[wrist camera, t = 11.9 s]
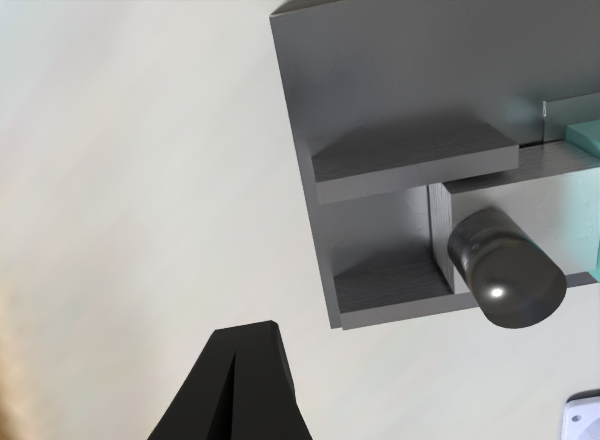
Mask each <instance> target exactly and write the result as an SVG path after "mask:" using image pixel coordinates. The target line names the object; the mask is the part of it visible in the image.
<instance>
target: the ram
mask: <svg viewBox="0 0 600 440" xmlns="http://www.w3.org/2000/svg"><path fill="white" fill-rule="evenodd" d="M429 193H430V209H431V225H432V241H433V256H434V258H435V260H436V262H437V264H438V265H439V267H440V269H441V271H442V272H443V274H444V276H445V278H446V280H447V281H448V283H449V285H450V287H451V288H452V290H453V292H454V294H460V293H466V292H471V294H472V295H473V297H474V298H475V300H476V302H477V303H478V305H479V307H480V308H481V310H482V311H483V313H484V315H485V316H486V317H487V319H488V320H489V321H491V322H492V323H493V324H495V325H497V326H500V327H503V328H510V329H518V328H524V327H528V326H532V325H534V324H537V323H539V322H541V321H543V320H544V319H546V318H547V317H549V316H550V315H551V314H552V313H553V312H554V311H555V310H556V309H557V308H558V307H559V306H560V304H561V303H562V301H563V299H564V297H565V294H566V290H567V281H566V277H565V275H569V274H575V273H580V272H586V271H592V270H596V264H597V256H598V248H599V240H600V160H598V159H597V158H595V157H593V156H591V155H590V154H588V153H586V152H584V151H582V150H581V149H579V148H577V147H575V146H574V145H572V144H570V143H568V142H566V141H565V140H563V141H558V142H552V143H547V144H542V145H536V146H531V147H526V148H520V149H519V161H518V168H516V169H511V170H505V171H500V172H494V173H489V174H484V175H478V176H473V177H468V178H462V179H457V180H451V181H446V182H441V183H435V184H430V185H429Z"/></svg>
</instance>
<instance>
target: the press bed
mask: <svg viewBox="0 0 600 440" xmlns="http://www.w3.org/2000/svg"><path fill="white" fill-rule="evenodd" d="M269 19H270V24H271V29H272V34H273V39H274V44H275V49H276V54H277V59H278V64H279V69H280V74H281V79H282V84H283V89H284V94H285V99H286V104H287V109H288V114H289V119H290V125H291V130H292V135H293V140H294V145H295V150H296V155H297V160H298V165H299V170H300V175H301V180H302V185H303V190H304V195H305V200H306V205H307V210H308V215H309V220H310V225H311V230H312V235H313V240H314V245H315V250H316V255H317V260H318V265H319V270H320V276H321V281H322V286H323V291H324V296H325V301H326V306H327V311H328V316H329V321H330V326H331V329H334V328H340V327H342V328H343V330H348V329H354V328H359V327H365V326H371V325H377V324H383V323H388V322H394V321H400V320H406V319H411V318H417V317H423V316H429V315H434V314H440V313H446V312H452V311H458V310H463V309H469V308H475V307H479V305H478V303H477V302H476V300H475V298H474V297H473V295H472V294H471V292H466V293H460V294H454V292H453V290H452V288H451V287H450V285H449V283H448V281H447V280H446V278H445V276H444V274H443V272H442V271H441V269H440V267H439V265H438V264H437V262H436V260H435V258H434V256H433V241H432V225H431V209H430V193H429V185H430V184H435V183H441V182H446V181H451V180H457V179H462V178H468V177H473V176H478V175H484V174H489V173H494V172H500V171H505V170H511V169H516V168H518V161H519V149H520V148H526V147H531V146H536V145H542V144H547V143H552V142H558V141H563V140H566V128H567V126H569V125H574V124H579V123H584V122H590V121H595V120H600V0H340V1H335V2H330V3H325V4H320V5H316V6H311V7H306V8H301V9H296V10H291V11H286V12H282V13H277V14H272V15H270V16H269ZM565 277H566V281H567V288H570V287H576V286H581V285H587V284H593V283H599V282H598V281H597V280H596V279H595V278H594V277H593V276H592V275H591V274H590V273H589V272H587V271H586V272H580V273H575V274H569V275H565Z"/></svg>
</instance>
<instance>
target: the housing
mask: <svg viewBox="0 0 600 440" xmlns="http://www.w3.org/2000/svg"><path fill="white" fill-rule="evenodd" d="M565 141H566V142H568V143H570V144H572V145H574V146H575V147H577V148H579V149H581V150H582V151H584V152H586V153H588V154H590V155H591V156H593V157H595V158H597V159H598V160H600V120H595V121H590V122H584V123H579V124H574V125H569V126H567V128H566V140H565ZM587 272H589V273H590V274H591V275H592V276H593V277H594V278H595V279H596V280H597V281H598V282H599V283H600V240H599V248H598V256H597V264H596V270H592V271H587Z"/></svg>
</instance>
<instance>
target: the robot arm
mask: <svg viewBox="0 0 600 440" xmlns="http://www.w3.org/2000/svg"><path fill="white" fill-rule="evenodd" d="M147 440H313V439H312V437H311V435H310V433H309V431H308V429H307V426H306V424H305V422H304V420H303V417H302V415H301V413H300V411H299V408H298V406H297V403H296V397H295V389H294V383H293V379H292V376H291V372H290V368H289V364H288V360H287V357H286V353H285V349H284V345H283V342H282V338H281V334H280V330H279V326H278V324H277V323H276V322H274V321H272V320H269V321H264V322H258V323H252V324H247V325H241V326H235V327H230V328H224V329H218V330H215V331H214V332H213V333H212V335H211V336H210V338H209V340H208V341H207V343H206V345H205V347H204V349H203V350H202V352H201V354H200V356H199V357H198V359H197V361H196V363H195V364H194V366H193V368H192V369H191V371H190V373H189V375H188V376H187V378H186V380H185V381H184V383H183V385H182V386H181V388H180V390H179V391H178V393H177V394H176V396H175V398H174V399H173V401H172V402H171V404H170V406H169V407H168V409H167V410H166V412H165V414H164V415H163V417H162V418H161V420H160V421H159V423H158V424H157V426H156V427H155V429H154V430H153V432H152V433H151V434H150V436H149V437H148V439H147ZM561 440H600V396H597V397H591V398H585V399H578V400H573V401H570V402H568V403H567V404H566V406H565V408H564V417H563V426H562V435H561Z"/></svg>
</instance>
